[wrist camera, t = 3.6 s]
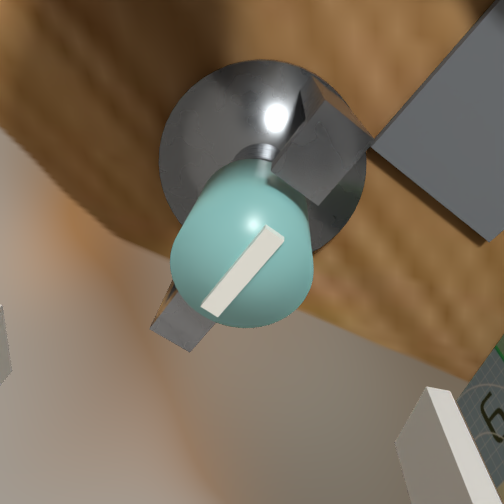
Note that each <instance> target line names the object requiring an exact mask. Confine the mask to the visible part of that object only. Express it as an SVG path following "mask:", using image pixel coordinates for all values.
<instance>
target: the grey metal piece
mask: <svg viewBox="0 0 504 504" xmlns="http://www.w3.org/2000/svg"><path fill="white" fill-rule="evenodd" d="M297 129H298V130H297ZM294 133H295V134H294ZM291 137H292V138H291ZM288 141H289V142H288ZM374 141H375V139H374V138H373V137H372V136H371V135H370V133H369V132H368V131H367V130H366V128H365V127H364V126H363V125H362V123H361V122H360V121H359V120H358V118H357V117H356V116H355V115H354V114H353V112H352V111H351V109H350V108H349V106H348V105H347V104H346V102H345V101H344V100H343V99H342V97H341V96H340V95H339V94H338V92H337V91H336V90H335V89H333V88H332V87H331V86H330V85H329V84H328V83H327V82H326V81H324V80H323V79H322V78H320V77H319V76H317V75H316V74H314V73H312V72H310V71H308V70H307V69H305V68H303V67H300V66H297V65H294V64H291V63H288V62H283V61H277V60H265V59H257V60H248V61H242V62H238V63H234V64H230V65H228V66H226V67H223V68H221V69H218V70H216V71H214V72H213V73H211V74H209V75H208V76H206V77H204V78H203V79H201V80H200V81H199V82H197V83H196V84H195V85H194V86H192V87H191V88H190V89H189V90H188V91H187V92H186V93H185V94H184V96H183V97H182V98H181V99H180V100H179V102H178V103H177V105H176V106H175V108H174V109H173V110H172V112H171V114H170V116H169V118H168V120H167V122H166V125H165V128H164V131H163V134H162V138H161V143H160V149H159V172H160V179H161V183H162V188H163V191H164V194H165V197H166V200H167V202H168V204H169V206H170V208H171V210H172V212H173V213H174V215H175V216H176V218H177V219H178V221H179V222H180V223H181V225H182V226H183V224H184V222H185V221H186V219H187V217H188V215H189V213H190V212H191V210H192V208H193V206H194V204H195V203H196V201H197V199H198V197H199V195H200V194H201V192H202V190H203V188H204V186H205V185H206V183H207V181H208V180H209V179H210V177H211V176H212V175H213V174H214V173H215V172H216V171H217V170H219V169H220V168H222V167H223V166H225V165H227V164H229V163H232V162H234V161H238V160H242V159H261V160H266V161H269V162H273V163H272V165H271V172H273V173H274V174H275V175H277V176H278V177H279V178H281V179H282V180H283V181H285V182H286V183H288V184H289V185H290V186H292V187H293V188H294V189H296V190H297V191H299V192H300V193H301V194H303V195H304V196H305V198H306V202H307V209H308V219H309V228H310V238H311V247H312V252H313V251H315V250H317V249H319V248H320V247H322V246H323V245H324V244H326V243H327V242H329V241H330V240H331V239H332V238H333V237H334V236H335V235H336V234H337V233H339V232H340V230H341V229H342V228H343V227H344V226H345V224H346V223H347V222H348V220H349V219H350V217H351V216H352V214H353V212H354V211H355V209H356V206H357V204H358V202H359V200H360V197H361V194H362V191H363V187H364V182H365V176H366V151H367V149H368V148H369V147H370V146H371V145H372V144H373V143H374ZM285 145H286V146H285ZM281 150H282V151H281ZM278 154H279V155H278ZM275 158H276V159H275ZM215 323H216V322H214V321H212V320H209V319H208V318H206V317H204V316H202V315H201V314H199V313H198V312H196V311H195V310H194V309H193V308H192V307H190V306H189V305H188V303H187V302H186V301H185V300H184V299H183V298H182V296H181V295H180V293H179V292H178V290H177V288H176V286H175V284H174V281H173V280H172V282H171V284H170V286H169V289H168V291H167V293H166V295H165V297H164V299H163V301H162V303H161V305H160V307H159V310H158V312H157V314H156V316H155V318H154V320H153V322H152V324H151V326H150V330H152V331H154V332H155V333H157V334H159V335H161V336H162V337H164V338H166V339H168V340H169V341H171V342H173V343H175V344H176V345H178V346H180V347H181V348H183V349H185V350H187V351H188V352H191V351H192V349H193V348H194V347H195V346H196V345H197V344H198V343H199V341H200V340H201V339H202V338H203V337H204V336H205V335H206V333H207V332H208V331H209V330H210V329H211V328H212V327H213V325H214V324H215Z"/></svg>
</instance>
